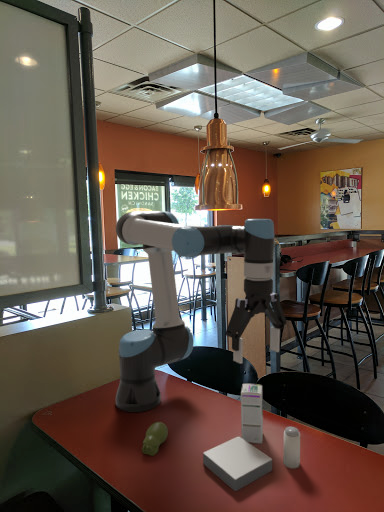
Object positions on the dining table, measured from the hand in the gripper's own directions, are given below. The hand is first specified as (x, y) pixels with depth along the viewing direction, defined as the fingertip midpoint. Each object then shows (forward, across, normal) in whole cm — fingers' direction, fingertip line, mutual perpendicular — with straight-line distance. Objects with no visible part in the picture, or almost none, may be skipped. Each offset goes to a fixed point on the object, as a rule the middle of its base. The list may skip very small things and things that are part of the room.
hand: (256, 356), depth 101 cm
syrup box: (+25, +1, +2) cm, 25 cm away
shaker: (+24, +1, -12) cm, 27 cm away
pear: (+25, -24, +15) cm, 37 cm away
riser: (+24, -11, -5) cm, 27 cm away
